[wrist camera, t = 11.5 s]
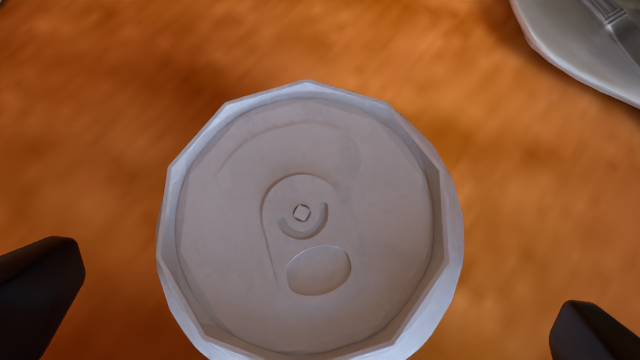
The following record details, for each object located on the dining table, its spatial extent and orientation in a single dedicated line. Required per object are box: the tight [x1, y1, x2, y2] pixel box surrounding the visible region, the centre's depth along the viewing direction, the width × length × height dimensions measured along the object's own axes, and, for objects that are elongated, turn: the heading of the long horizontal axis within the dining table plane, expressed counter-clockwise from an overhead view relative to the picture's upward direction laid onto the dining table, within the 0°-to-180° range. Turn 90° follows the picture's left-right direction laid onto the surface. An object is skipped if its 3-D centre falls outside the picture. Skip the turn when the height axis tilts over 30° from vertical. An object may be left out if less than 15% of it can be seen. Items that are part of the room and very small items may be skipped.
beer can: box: [155, 79, 464, 360], centre depth 11 cm, size 5×5×12 cm
